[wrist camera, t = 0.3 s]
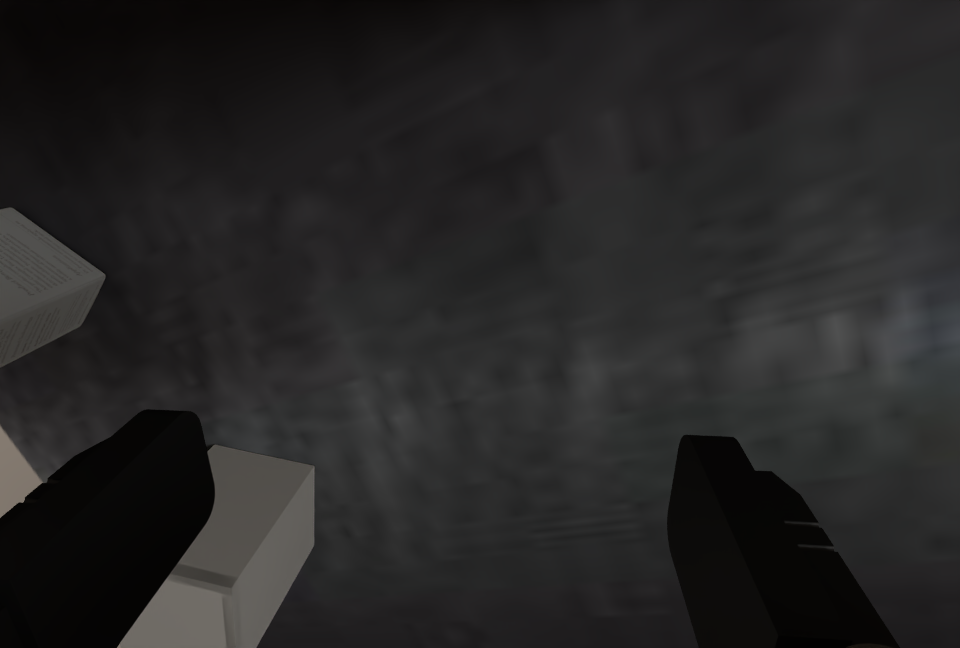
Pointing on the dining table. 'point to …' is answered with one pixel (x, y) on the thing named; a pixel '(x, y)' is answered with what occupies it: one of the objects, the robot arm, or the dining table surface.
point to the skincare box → (39, 287)
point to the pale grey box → (235, 557)
